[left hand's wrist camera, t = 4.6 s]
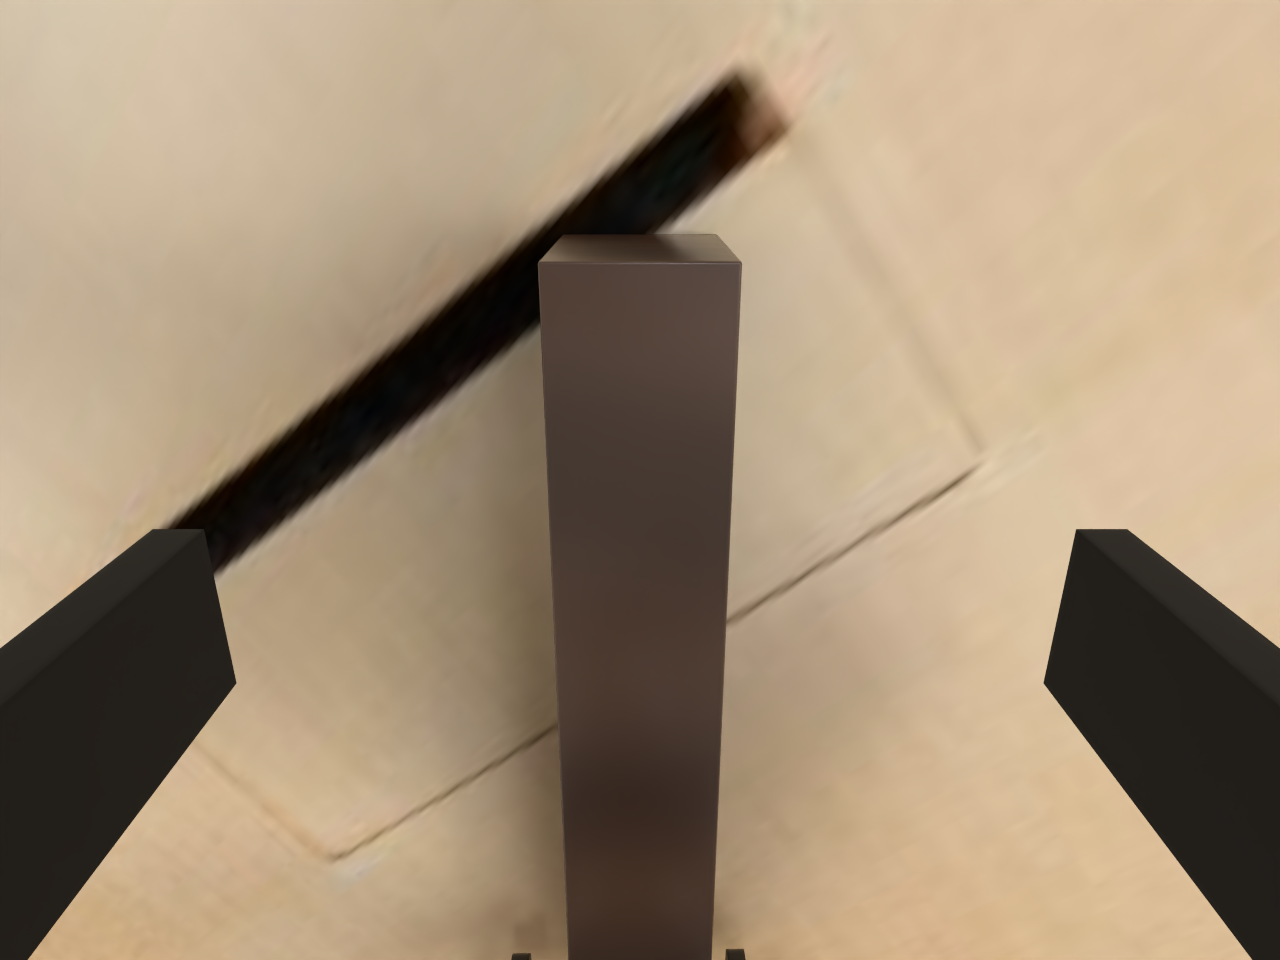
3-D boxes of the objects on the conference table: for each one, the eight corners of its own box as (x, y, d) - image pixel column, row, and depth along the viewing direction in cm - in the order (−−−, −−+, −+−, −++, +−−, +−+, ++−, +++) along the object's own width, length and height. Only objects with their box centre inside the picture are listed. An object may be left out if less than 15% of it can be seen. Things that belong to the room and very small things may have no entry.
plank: (562, 234, 27) (537, 261, 20) (717, 234, 27) (742, 261, 20) (586, 950, 39) (575, 1113, 32) (693, 950, 39) (704, 1113, 32)
